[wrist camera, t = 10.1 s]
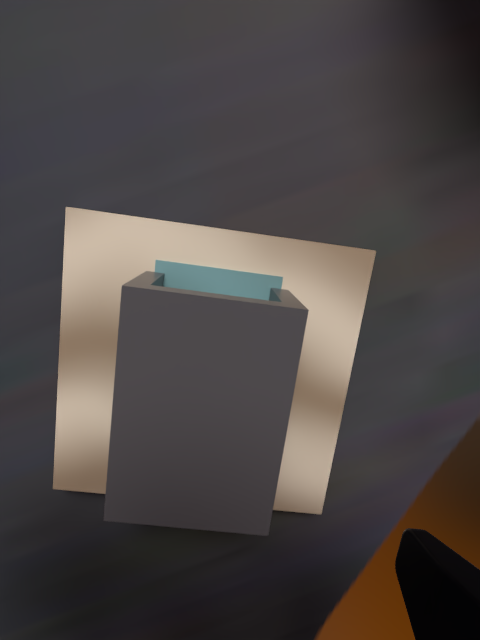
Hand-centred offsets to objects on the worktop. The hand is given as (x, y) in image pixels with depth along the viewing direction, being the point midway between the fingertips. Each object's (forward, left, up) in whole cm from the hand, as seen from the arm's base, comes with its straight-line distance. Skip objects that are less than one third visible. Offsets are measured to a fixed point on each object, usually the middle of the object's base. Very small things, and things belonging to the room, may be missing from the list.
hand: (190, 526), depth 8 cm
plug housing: (0, 0, -9) cm, 9 cm away
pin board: (0, 0, -10) cm, 10 cm away
